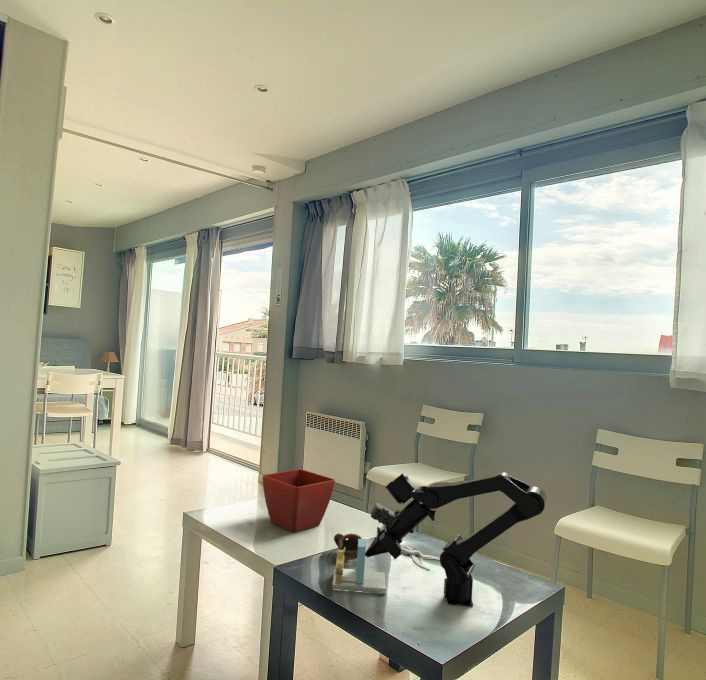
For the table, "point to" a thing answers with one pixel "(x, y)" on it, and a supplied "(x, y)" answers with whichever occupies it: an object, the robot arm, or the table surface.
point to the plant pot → (297, 498)
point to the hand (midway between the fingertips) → (365, 555)
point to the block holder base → (371, 583)
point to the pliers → (415, 552)
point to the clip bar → (359, 572)
